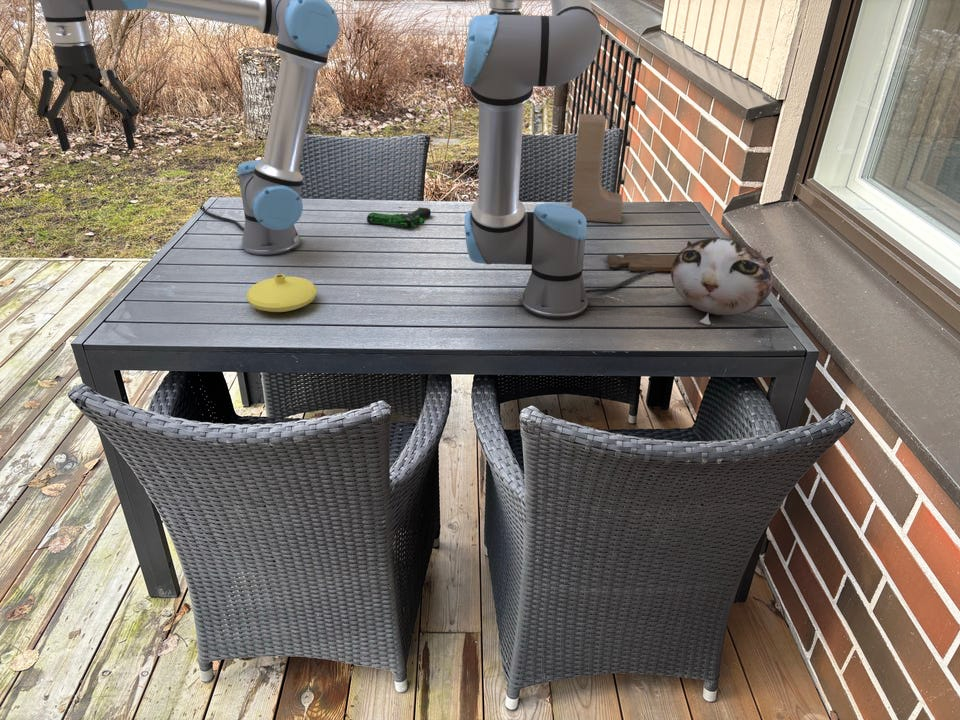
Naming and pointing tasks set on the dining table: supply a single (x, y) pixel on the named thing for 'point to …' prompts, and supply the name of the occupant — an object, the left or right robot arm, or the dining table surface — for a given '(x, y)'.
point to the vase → (281, 293)
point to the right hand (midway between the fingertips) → (502, 114)
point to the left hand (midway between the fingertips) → (99, 149)
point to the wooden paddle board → (642, 262)
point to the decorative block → (593, 174)
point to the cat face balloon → (722, 277)
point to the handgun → (401, 218)
